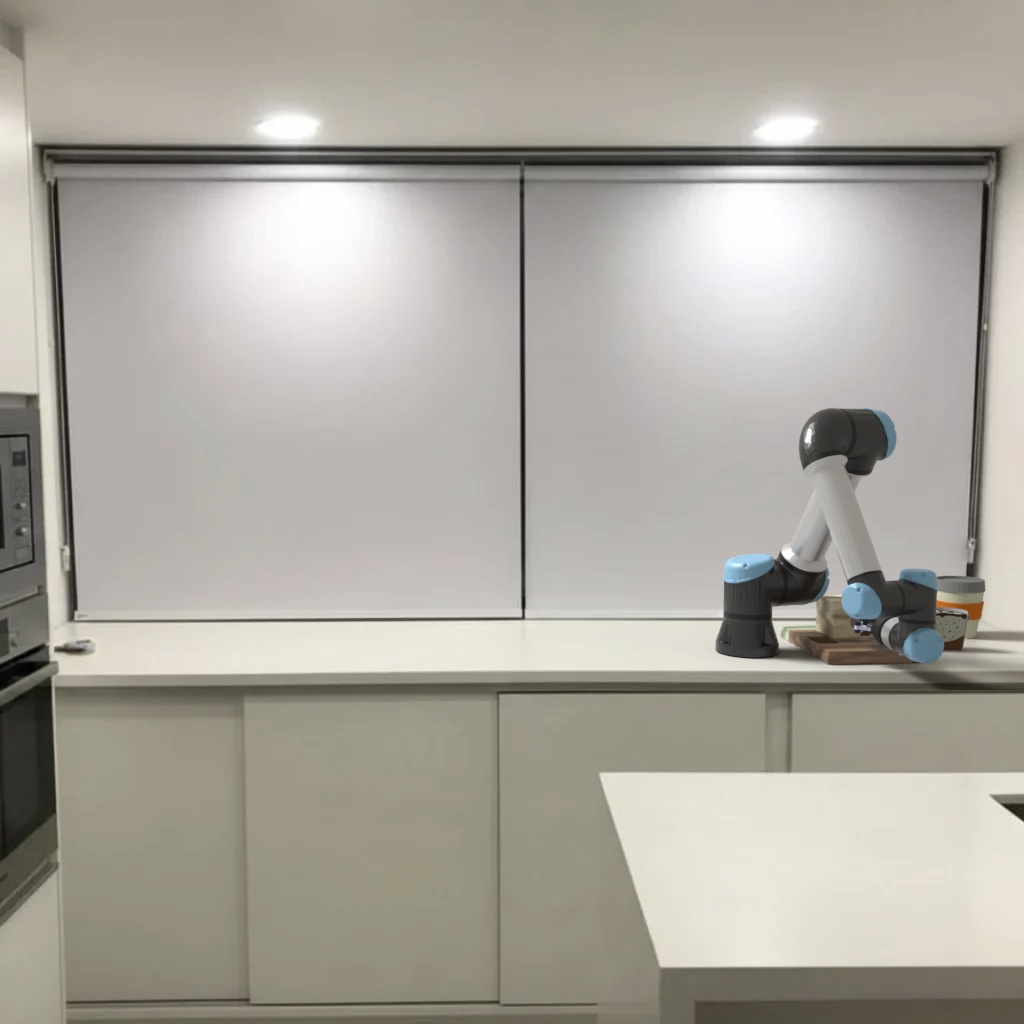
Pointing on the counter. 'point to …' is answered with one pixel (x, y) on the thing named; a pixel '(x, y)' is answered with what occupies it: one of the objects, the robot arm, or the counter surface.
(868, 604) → the robot arm
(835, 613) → the block
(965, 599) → the reusable coffee cup
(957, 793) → the counter surface
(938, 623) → the food container
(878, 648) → the board
